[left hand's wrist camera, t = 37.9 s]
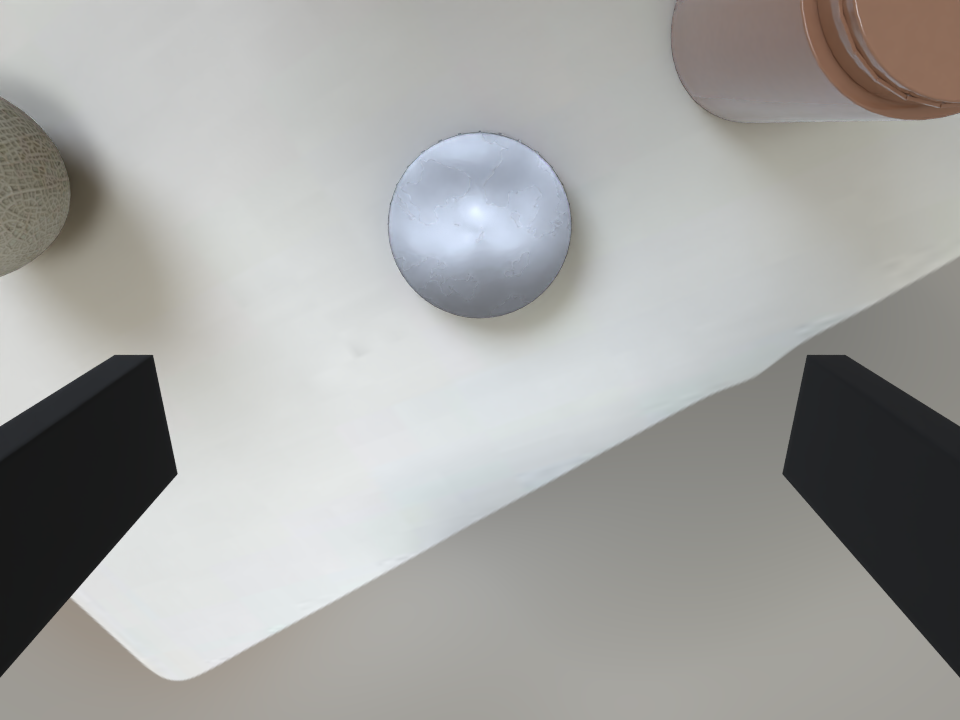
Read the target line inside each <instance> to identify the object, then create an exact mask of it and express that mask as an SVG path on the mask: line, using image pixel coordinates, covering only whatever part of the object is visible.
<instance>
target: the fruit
mask: <svg viewBox="0 0 960 720" xmlns="http://www.w3.org/2000/svg"><path fill="white" fill-rule="evenodd" d="M70 197H71V193H70V182H69V177H68V174H67V171H66V168H65V165H64V162H63V160H62V157H61V155H60V153H59V151H58V149H57V148H56V146H55V145H54V144H53V142H52V141H51V139H50V138H49V137H48V136H47V134H46V133H45V132H44V131H43V130H42V129H41V128H40V127H39V126H38V125H37V123H36V122H35V121H34V120H33V119H31V118H30V117H29V116H28V115H27V114H25V113H24V112H23V111H22V110H20V109H19V108H17V107H16V106H14V105H13V104H11V103H10V102H8V101H7V100H5V99H3V98H2V97H0V276H3V275H6V274H8V273H11V272H13V271H15V270H17V269H19V268H21V267H23V266H24V265H26V264H28V263H29V262H31V261H32V260H33V259H35V258H36V257H37V256H38V255H40V254H41V253H42V252H43V251H45V250H46V249H47V248H48V246H49V245H50V244H51V243H52V242H53V241H54V240H55V239H56V237H57V236H58V234H59V233H60V231H61V229H62V227H63V226H64V223H65V221H66V218H67V215H68V212H69V208H70Z"/></svg>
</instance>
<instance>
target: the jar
mask: <svg viewBox="0 0 960 720" xmlns="http://www.w3.org/2000/svg"><path fill="white" fill-rule="evenodd" d="M671 46H672V54H673V59H674V63H675V67H676V70H677V73H678V75H679V78H680V80H681V82H682V83H683V85H684V87H685V89H686V90H687V92H688V93H689V94H690V95H691V97H692V98H693V99H694V100H695V101H696V102H697V103H698V104H699V105H700V106H701V107H703V108H704V109H705V110H707V111H708V112H710V113H712V114H714V115H716V116H718V117H720V118H723V119H726V120H729V121H734V122H741V123H769V122H833V121H897V120H928V119H935V118H942V117H946V116H950V115H954V114H958V113H960V0H677V2H676V5H675V9H674V14H673V19H672V28H671Z"/></svg>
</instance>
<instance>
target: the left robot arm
mask: <svg viewBox="0 0 960 720" xmlns="http://www.w3.org/2000/svg"><path fill="white" fill-rule="evenodd" d="M176 475H177V469H176V464H175V459H174V454H173V450H172V445H171V440H170V435H169V430H168V425H167V421H166V416H165V411H164V406H163V401H162V397H161V392H160V387H159V382H158V377H157V372H156V368H155V363H154V358H153V355H114V356H112V357H111V358H109V359H108V360H106V361H104V362H103V363H101V364H100V365H98V366H96V367H95V368H93V369H92V370H90V371H88V372H87V373H85V374H84V375H82V376H80V377H79V378H77V379H75V380H74V381H72V382H71V383H69V384H67V385H66V386H64V387H63V388H61V389H59V390H58V391H56V392H55V393H53V394H51V395H50V396H48V397H47V398H45V399H43V400H42V401H40V402H39V403H37V404H35V405H34V406H32V407H31V408H29V409H27V410H26V411H24V412H23V413H21V414H19V415H18V416H16V417H15V418H13V419H11V420H10V421H8V422H7V423H5V424H3V425H2V426H0V677H1V676H2V675H3V674H4V672H5V671H6V670H7V669H8V668H9V667H10V666H11V664H12V663H13V662H14V661H15V660H16V659H17V658H18V656H19V655H20V654H21V653H22V652H23V651H24V650H25V648H26V647H27V646H28V645H29V644H30V643H31V642H32V640H33V639H34V638H35V637H36V636H37V635H38V633H39V632H40V631H41V630H42V629H43V628H44V627H45V625H46V624H47V623H48V622H49V621H50V620H51V619H52V617H53V616H54V615H55V614H56V613H57V612H58V611H59V609H60V608H61V607H62V606H63V605H64V604H65V602H66V601H67V600H68V599H69V598H70V597H71V596H72V595H73V593H74V592H75V591H76V590H77V589H78V588H79V586H80V585H81V584H82V583H83V582H84V581H85V580H86V578H87V577H88V576H89V575H90V574H91V573H92V572H93V570H94V569H95V568H96V567H97V566H98V565H99V564H100V562H101V561H102V560H103V559H104V558H105V557H106V555H107V554H108V553H109V552H110V551H111V550H112V549H113V547H114V546H115V545H116V544H117V543H118V542H119V541H120V539H121V538H122V537H123V536H124V535H125V534H126V533H127V531H128V530H129V529H130V528H131V527H132V526H133V525H134V523H135V522H136V521H137V520H138V519H139V518H140V516H141V515H142V514H143V513H144V512H145V511H146V510H147V508H148V507H149V506H150V505H151V504H152V503H153V502H154V500H155V499H156V498H157V497H158V496H159V495H160V494H161V492H162V491H163V490H164V489H165V488H166V487H167V486H168V484H169V483H170V482H171V481H172V480H173V479H174V477H175V476H176ZM783 475H784V476H785V477H786V479H787V480H788V481H789V482H790V483H791V484H792V485H793V487H794V488H795V489H796V490H797V491H798V492H799V494H800V495H801V496H802V497H803V498H804V499H805V500H806V502H807V503H808V504H809V505H810V506H811V507H812V508H813V510H814V511H815V512H816V513H817V514H818V515H819V516H820V518H821V519H822V520H823V521H824V522H825V523H826V525H827V526H828V527H829V528H830V529H831V530H832V531H833V533H834V534H835V535H836V536H837V537H838V538H839V539H840V541H841V542H842V543H843V544H844V545H845V546H846V547H847V549H848V550H849V551H850V552H851V553H852V554H853V556H854V557H855V558H856V559H857V560H858V561H859V562H860V564H861V565H862V566H863V567H864V568H865V569H866V570H867V572H868V573H869V574H870V575H871V576H872V577H873V578H874V580H875V581H876V582H877V583H878V584H879V585H880V586H881V588H882V589H883V590H884V591H885V592H886V593H887V595H888V596H889V597H890V598H891V599H892V600H893V601H894V603H895V604H896V605H897V606H898V607H899V608H900V609H901V610H902V612H903V613H904V614H905V615H906V616H907V617H908V619H909V620H910V621H911V622H912V623H913V624H914V625H915V627H916V628H917V629H918V630H919V631H920V632H921V634H922V635H923V636H924V637H925V638H926V639H927V640H928V641H929V643H930V644H931V645H932V646H933V647H934V648H935V650H936V651H937V652H938V653H939V654H940V655H941V656H942V658H943V659H944V660H945V661H946V662H947V663H948V664H949V666H950V667H951V668H952V669H953V670H954V671H955V672H956V674H957V675H958V676H959V677H960V426H958V425H957V424H955V423H953V422H952V421H950V420H949V419H947V418H945V417H944V416H942V415H941V414H939V413H937V412H936V411H934V410H933V409H931V408H929V407H928V406H926V405H925V404H923V403H921V402H920V401H918V400H917V399H915V398H913V397H912V396H910V395H909V394H907V393H905V392H904V391H902V390H901V389H899V388H897V387H896V386H894V385H892V384H891V383H889V382H888V381H886V380H884V379H883V378H881V377H880V376H878V375H876V374H875V373H873V372H872V371H870V370H868V369H867V368H865V367H864V366H862V365H860V364H859V363H857V362H856V361H854V360H852V359H851V358H849V357H848V356H846V355H807V358H806V363H805V368H804V373H803V377H802V382H801V387H800V392H799V397H798V401H797V406H796V411H795V416H794V421H793V425H792V430H791V435H790V440H789V445H788V450H787V454H786V459H785V464H784V469H783Z"/></svg>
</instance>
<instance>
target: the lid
mask: <svg viewBox="0 0 960 720" xmlns="http://www.w3.org/2000/svg"><path fill="white" fill-rule="evenodd" d="M421 153H422V154H421V155H420V156H419V157H418V158H416V159H415V160H414V161H413V162H412V164H411V165H409V166H408V167H407V168H408V169H407V170H406V171H405V172H404V174H403V176H402V177H401V179H400V181H399V182H398V183H397V185H396V186H397V187H396V189H395V192H394V194H393V197H392V201H391V203H390V210H389V217H388V233H389V242H390V246H391V250H392V254H393V256H394V259H395V262H396V264H397V266H398V268H399V270H400V272H401V274H402V275H403V277H404V278H405V279H406V281H407V282H408V284H409V285H410V286H411V287H412V288H413V289H414V290H415V291H416V292H417V293H418V294H419V295H420V296H421V297H422V298H424V299H425V300H426V301H428V302H429V303H431V304H432V305H434V306H435V307H437V308H439V309H442V310H444V311H446V312H449V313H452V314H455V315H458V316H463V317H470V318H491V317H496V316H502V315H505V314H508V313H511V312H514V311H516V310H518V309H520V308H522V307H524V306H526V305H527V304H529V303H531V302H532V301H534V300H535V299H536V298H537V297H538V296H540V295H541V294H542V293H543V292H544V291H545V290H546V289H547V288H548V287H549V286H550V284H551V283H552V282H553V280H554V279H555V278H556V276H557V275H558V273H559V271H560V269H561V267H562V265H563V263H564V260H565V258H566V255H567V252H568V248H569V244H570V238H571V225H572V223H571V213H570V206H569V205H570V204H569V202H568V199H567V195H566V193H565V190H564V188H563V184H562V183H561V182H560V180H559V178H558V176H557V175H556V173H555V172H554V170H553V169H552V168H553V167H552V166H550V165H549V164H548V163H547V162H546V161H545V160H544V159H543V158H542V157H541V156H540V155H539V154H538V153H539V152H537V151H535V150H532V149H531V148H529V147H528V146H526V145H524V144H522V143H521V141H520V140H514V139H511V138H509V137H506V136H503V135H501V133H499V135H498V134H494V133H484V132H481V131H479V132H476V133H466V134H461V133H459V134H458V135H456V136H454V137H451V138H448V139H445V140H443V141H442V140H439V143H437V144H435V145H433V146H432V147H430V148H429V149H427V150H426V151H425V150H424V151H422V152H421Z"/></svg>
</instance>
